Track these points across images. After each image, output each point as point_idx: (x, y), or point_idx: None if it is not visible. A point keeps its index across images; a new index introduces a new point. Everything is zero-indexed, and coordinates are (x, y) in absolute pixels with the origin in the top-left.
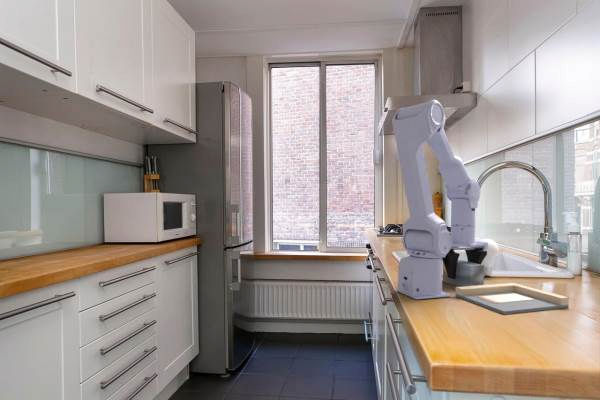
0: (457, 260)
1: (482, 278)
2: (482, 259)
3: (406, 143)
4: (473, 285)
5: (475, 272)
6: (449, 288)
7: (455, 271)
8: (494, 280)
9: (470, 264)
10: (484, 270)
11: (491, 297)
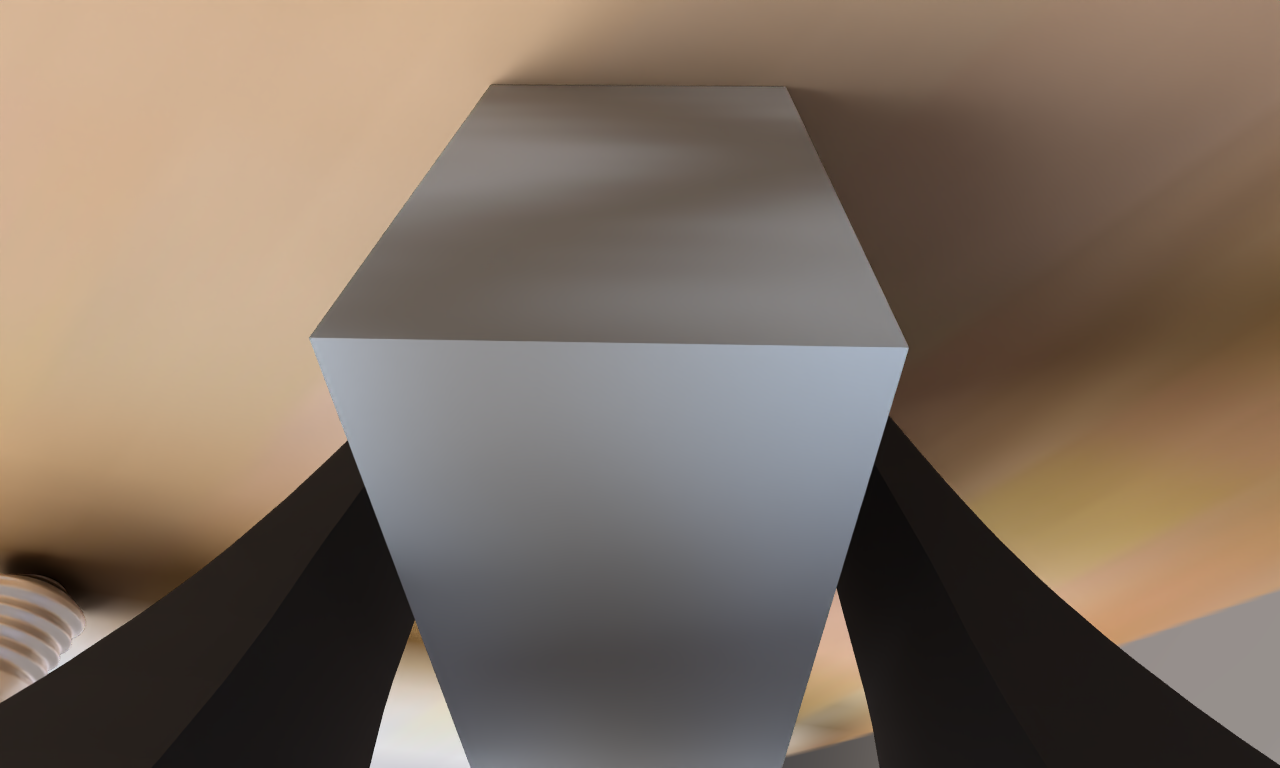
0: (1012, 709)
1: (477, 157)
2: (89, 674)
3: None
4: (730, 110)
5: (687, 230)
6: (996, 280)
7: (910, 492)
8: (16, 447)
9: (671, 515)
10: (29, 643)
11: None
